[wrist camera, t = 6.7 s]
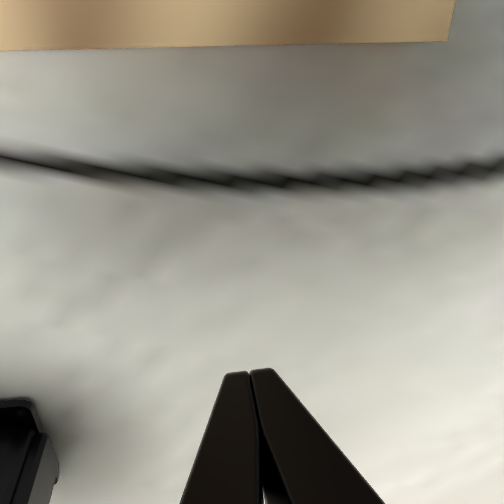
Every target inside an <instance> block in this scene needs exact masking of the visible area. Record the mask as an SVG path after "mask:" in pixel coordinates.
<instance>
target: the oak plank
mask: <svg viewBox="0 0 504 504" xmlns="http://www.w3.org/2000/svg"><path fill="white" fill-rule="evenodd" d="M454 5H455V0H0V51H14V50H61V49H108V48H155V47H201V46H248V45H295V44H342V43H389V42H436V41H447V39H448V34H449V29H450V25H451V20H452V15H453V10H454Z"/></svg>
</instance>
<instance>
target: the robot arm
mask: <svg viewBox="0 0 504 504" xmlns="http://www.w3.org/2000/svg"><path fill="white" fill-rule="evenodd" d="M58 467H59V463H58V460H57V458H56V455H55V452H54V449H53V447H52V444H51V441H50V439H49V436H48V435H47V434H46V433H45V432H44V431H43V429H42V426H41V423H40V421H39V418H38V415H37V413H36V410H35V407H34V405H33V404H32V403H31V402H30V401H27V400H11V401H1V402H0V504H49V502H50V498H51V494H52V490H53V486H54V484H56V483H57V481H58V478H59V471H58ZM263 493H264V499H265V504H385V503H384V502H383V500H382V499H381V498H380V497H379V496H378V494H377V493H376V492H375V491H374V489H373V488H372V487H371V486H370V485H369V483H368V482H367V481H366V480H365V479H364V477H363V476H362V475H361V474H360V473H359V471H358V470H357V469H356V468H355V467H354V465H353V464H352V463H351V462H350V461H349V459H348V458H347V457H346V456H345V455H344V453H343V452H342V451H341V450H340V449H339V447H338V446H337V445H336V444H335V443H334V441H333V440H332V439H331V438H330V437H329V435H328V434H327V433H326V432H325V430H324V429H323V428H322V427H321V426H320V424H319V423H318V422H317V421H316V420H315V418H314V417H313V416H312V415H311V414H310V412H309V411H308V410H307V409H306V408H305V406H304V405H303V404H302V403H301V402H300V400H299V399H298V398H297V397H296V396H295V394H294V393H293V392H292V391H291V390H290V388H289V387H288V386H287V385H286V384H285V382H284V381H283V380H282V379H281V377H280V376H279V375H278V374H277V373H276V372H275V370H274V369H272V368H263V369H256V370H252V371H250V373H248V372H247V371H240V372H233V373H227V374H226V375H225V376H224V378H223V381H222V384H221V387H220V390H219V392H218V395H217V398H216V401H215V404H214V407H213V410H212V412H211V415H210V418H209V421H208V424H207V427H206V429H205V432H204V435H203V438H202V441H201V444H200V447H199V449H198V452H197V455H196V458H195V461H194V464H193V467H192V469H191V472H190V475H189V478H188V481H187V484H186V486H185V489H184V492H183V495H182V498H181V501H180V504H264V499H263Z"/></svg>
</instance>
